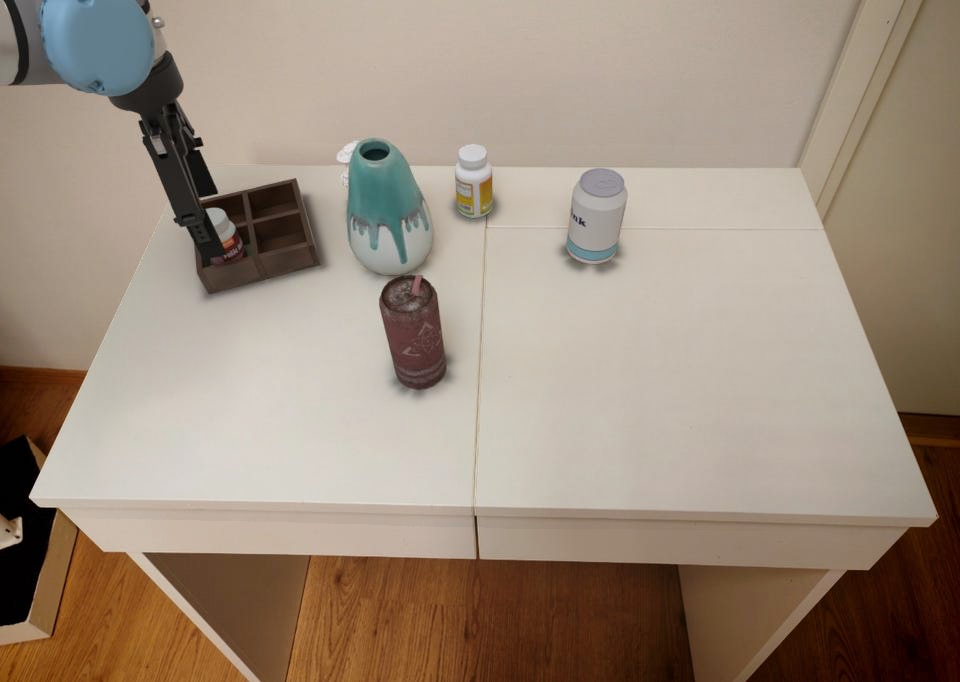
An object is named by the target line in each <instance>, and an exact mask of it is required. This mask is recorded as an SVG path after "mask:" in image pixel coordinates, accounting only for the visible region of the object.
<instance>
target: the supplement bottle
mask: <svg viewBox="0 0 960 682" xmlns="http://www.w3.org/2000/svg"><path fill="white" fill-rule="evenodd" d="M454 181H455V193H456V205H457V206H456V207H457V210H458V212H459V213H460V214H461V215H463V216H464V217H467V218H471V219H478V218H482V217H484V216H486V215H488V214H489V213H490V212H491V211H492V209H493V203H494V202H493V200H494V199H493V197H494V196H493V195H494V194H493V167H492V165H491V162H489V161H488V152H487V149H486V148H485V147H484V146H483V145H481V144H476V143H469V144H466V145H464V146H462V147H460V149H459V150H458V161H457V162H456V164H455V166H454Z"/></svg>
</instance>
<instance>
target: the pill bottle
mask: <svg viewBox="0 0 960 682" xmlns="http://www.w3.org/2000/svg"><path fill="white" fill-rule="evenodd" d="M206 211H207V213H208V215H209V217H210V219H211V221H212V223H213V226H214V228H215V230H216V232H217V234H218V236H219V238H220V240H221V242H222V244H223V246H224V248H225V251H226V255H223V256H219V257H215V258H211V259H210V260H211V261H212V263H213V265H218V264H222V263H225V262H229V261H233V260H237V259H241V258H245V257H249V256H248V254H247V252H246V250H245V247H244V245H243V243H242V241H241V238H240V236H239V234H238V232H237V230H236V227H235V225H234V224H233V223H232V222H231V221H229V219H228V217H227V215H226V213H225V211H224V210H222V209H220V208H208V209H206Z"/></svg>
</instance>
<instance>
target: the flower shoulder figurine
mask: <svg viewBox="0 0 960 682" xmlns="http://www.w3.org/2000/svg"><path fill="white" fill-rule="evenodd" d="M360 141H361V140H353V141H352V142H349V143H347V144H346V145H344V146H343V148H342V149H340V150H339V152H338V153H336V160H337V162H338V163H342V164H345V170H344V171H343V173H342V174H341V175H340V177H339V180H340V182H342V186H345V187H346V189H348V169H349V162H350V158H351V155H352V153H353V151H354V149H355V147H356V145H357V144H358V143H359V142H360Z"/></svg>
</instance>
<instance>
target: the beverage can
mask: <svg viewBox="0 0 960 682" xmlns="http://www.w3.org/2000/svg"><path fill="white" fill-rule="evenodd" d="M628 195H629V194H628V190H627V187H626V185H625V179H624V177H623V176H622V175H621V174H620V173H619V172H617V171H616V170H613V169H610V168H605V167H594V168H590V169H587V170H586V171H584V172H583V173H582V174H581V176H580V178H579V180H578V181H577V182H576V183H575V185H574V186H573V188H572V196H571V204H570V212H569V213H570V214H569V220H568V229H567V230H568V231H567V238H566V250H567V252H568V254H569V255H570V256H571V257H572V258H573V259H575V260H577V261H578V262H581V263H582V264H583V263H584V264H588V265H598V264H603V263H605V262H608V261H610V260H611V259H612V258H614V256H615V255H616V254H617V249H618V245H619V240H620V235H621V230H622V225H623V221H624V217H625V211H626V208H627V207H626V206H627V201H628Z"/></svg>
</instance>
